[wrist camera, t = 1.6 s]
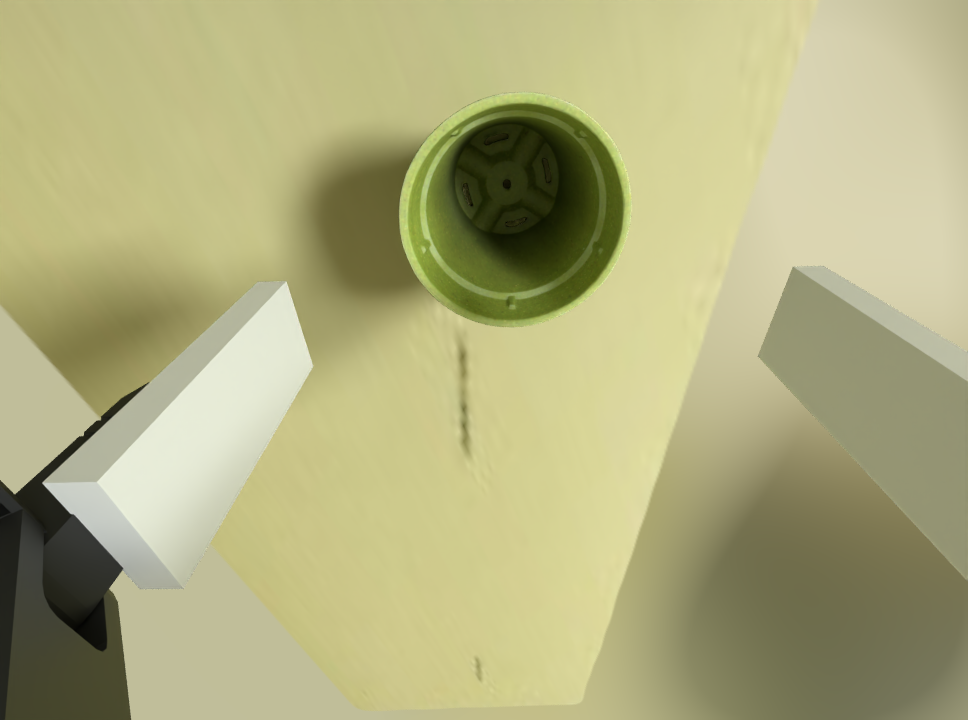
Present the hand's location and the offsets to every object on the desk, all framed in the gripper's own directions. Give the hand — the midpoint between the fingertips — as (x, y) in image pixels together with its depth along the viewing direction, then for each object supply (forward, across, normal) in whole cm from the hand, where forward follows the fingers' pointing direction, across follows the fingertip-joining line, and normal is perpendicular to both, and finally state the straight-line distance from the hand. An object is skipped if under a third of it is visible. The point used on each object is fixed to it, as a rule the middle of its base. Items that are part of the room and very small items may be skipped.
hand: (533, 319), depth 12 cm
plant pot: (+16, 0, 0) cm, 16 cm away
